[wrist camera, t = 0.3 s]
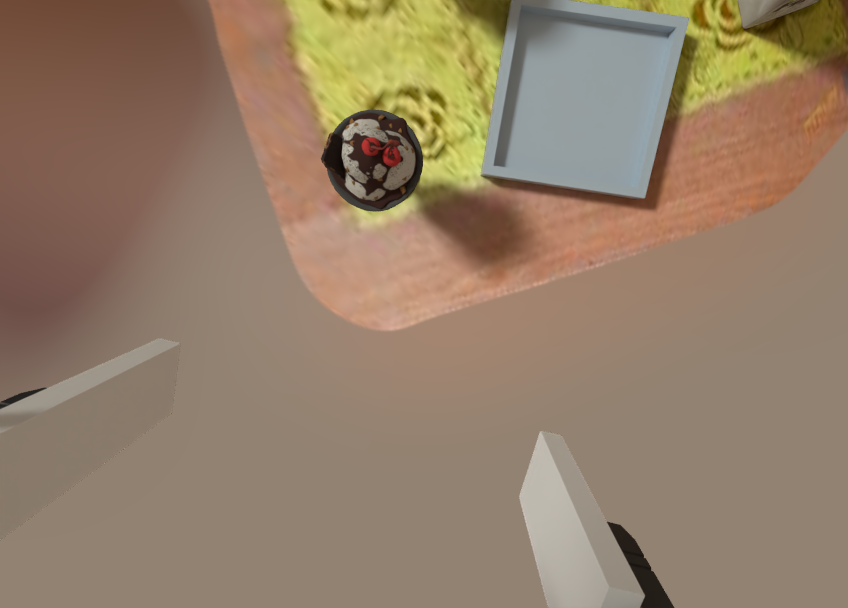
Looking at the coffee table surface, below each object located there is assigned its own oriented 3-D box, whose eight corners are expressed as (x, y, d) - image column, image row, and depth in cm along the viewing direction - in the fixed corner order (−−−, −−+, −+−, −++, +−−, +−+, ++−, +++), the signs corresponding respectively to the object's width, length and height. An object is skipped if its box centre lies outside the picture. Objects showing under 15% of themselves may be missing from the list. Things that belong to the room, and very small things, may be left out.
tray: (509, 4, 37) (513, -8, 35) (676, 28, 36) (689, 17, 35) (480, 175, 40) (482, 173, 38) (634, 199, 39) (644, 198, 37)
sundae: (443, 171, 40) (442, 146, 25) (393, 226, 41) (364, 233, 26) (389, 118, 39) (357, 61, 24) (340, 175, 40) (280, 153, 25)
